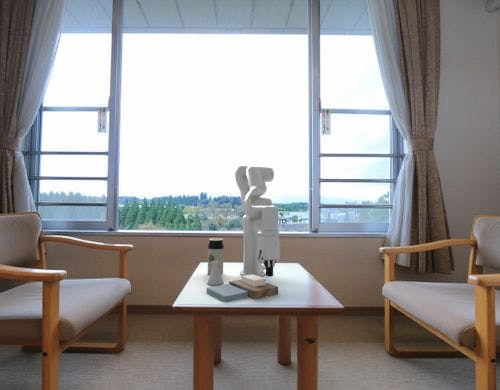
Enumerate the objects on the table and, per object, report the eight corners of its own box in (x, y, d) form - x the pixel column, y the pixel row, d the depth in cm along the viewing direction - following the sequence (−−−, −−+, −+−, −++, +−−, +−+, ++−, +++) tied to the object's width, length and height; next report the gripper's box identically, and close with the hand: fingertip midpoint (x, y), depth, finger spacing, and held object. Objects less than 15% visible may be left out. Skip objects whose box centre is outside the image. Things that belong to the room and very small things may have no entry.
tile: (252, 279, 136) (252, 274, 136) (265, 284, 129) (265, 278, 129) (241, 281, 133) (241, 276, 133) (254, 286, 126) (254, 280, 126)
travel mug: (217, 271, 166) (217, 237, 166) (226, 274, 160) (226, 239, 160) (204, 273, 160) (205, 238, 161) (213, 276, 155) (214, 240, 155)
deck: (251, 284, 140) (251, 277, 140) (278, 294, 126) (278, 286, 126) (229, 288, 133) (229, 281, 133) (254, 299, 119) (254, 291, 119)
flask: (214, 287, 135) (215, 264, 136) (203, 284, 140) (204, 261, 140) (226, 283, 141) (226, 261, 141) (215, 281, 146) (216, 259, 146)
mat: (228, 288, 133) (228, 283, 133) (247, 296, 122) (248, 291, 122) (206, 292, 127) (206, 287, 127) (224, 301, 115) (224, 296, 115)
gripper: (276, 232, 144) (276, 272, 143) (250, 233, 135) (250, 276, 134) (287, 233, 138) (287, 275, 137) (261, 235, 129) (261, 279, 128)
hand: (269, 275), depth 136 cm, fingers closed
